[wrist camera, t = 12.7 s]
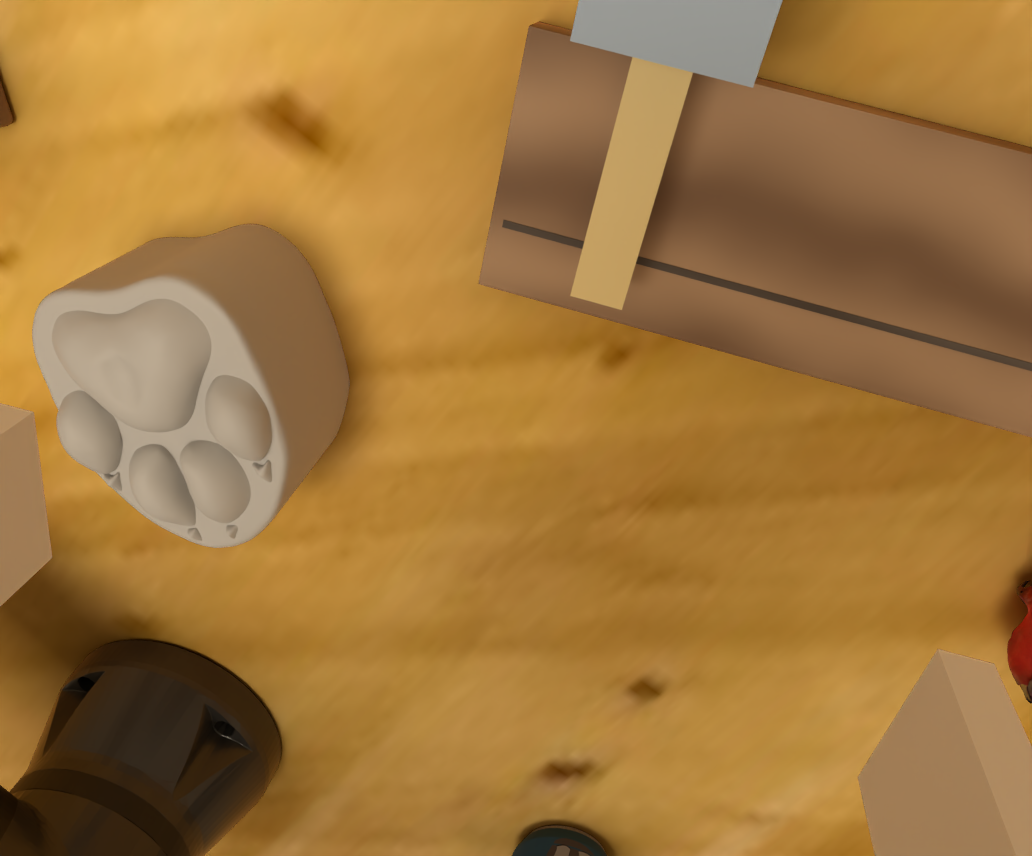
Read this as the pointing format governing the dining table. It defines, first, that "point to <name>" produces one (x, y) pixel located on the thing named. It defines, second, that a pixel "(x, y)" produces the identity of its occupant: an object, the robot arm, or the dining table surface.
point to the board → (786, 232)
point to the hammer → (655, 111)
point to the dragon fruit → (1022, 646)
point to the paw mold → (197, 378)
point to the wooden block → (4, 109)
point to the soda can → (559, 843)
